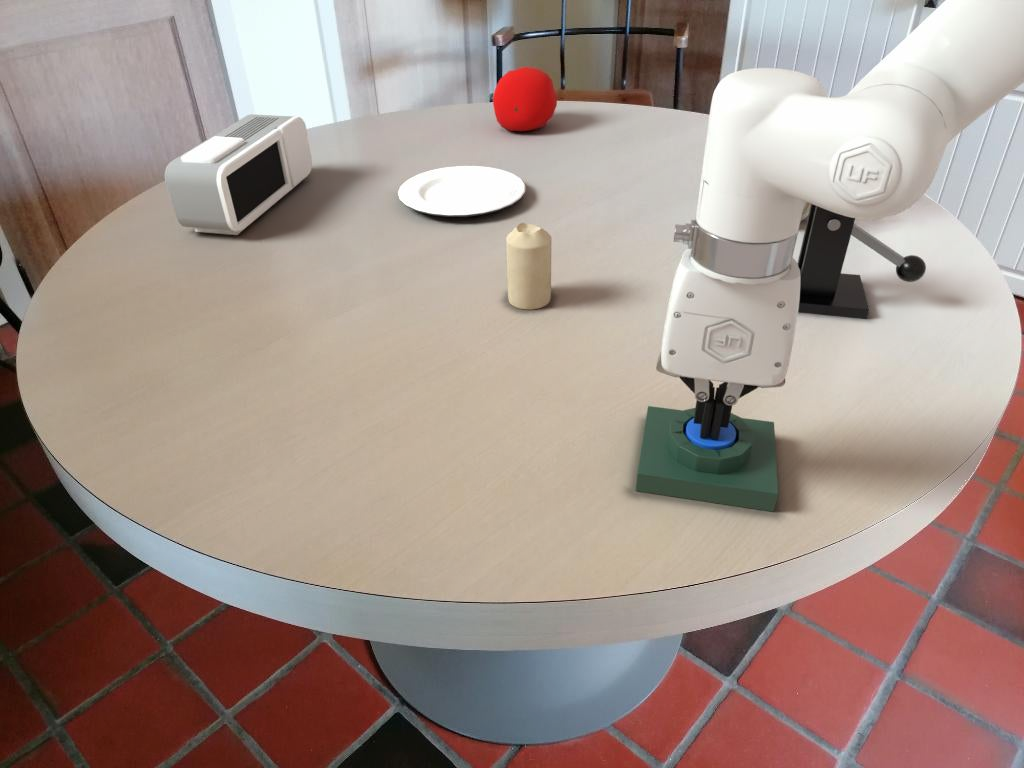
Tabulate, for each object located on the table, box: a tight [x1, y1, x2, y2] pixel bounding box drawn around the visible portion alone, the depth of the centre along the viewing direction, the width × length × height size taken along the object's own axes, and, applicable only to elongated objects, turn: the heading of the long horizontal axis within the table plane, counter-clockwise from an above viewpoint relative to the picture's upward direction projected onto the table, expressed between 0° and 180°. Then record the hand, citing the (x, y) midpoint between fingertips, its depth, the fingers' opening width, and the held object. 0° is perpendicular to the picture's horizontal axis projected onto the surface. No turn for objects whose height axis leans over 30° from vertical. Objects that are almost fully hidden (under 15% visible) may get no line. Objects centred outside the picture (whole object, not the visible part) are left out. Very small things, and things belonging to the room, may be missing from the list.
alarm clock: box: [164, 113, 313, 236], centre depth 120 cm, size 27×9×12 cm, turn 167°
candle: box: [505, 222, 553, 310], centre depth 93 cm, size 6×6×10 cm
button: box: [685, 418, 736, 450], centre depth 69 cm, size 4×4×2 cm
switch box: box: [635, 405, 779, 512], centre depth 69 cm, size 12×10×4 cm
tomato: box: [492, 66, 558, 132], centre depth 150 cm, size 13×13×13 cm
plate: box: [397, 165, 526, 218], centre depth 123 cm, size 21×21×2 cm
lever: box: [851, 223, 927, 283], centre depth 90 cm, size 15×3×3 cm, turn 76°
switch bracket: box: [797, 204, 870, 320], centre depth 92 cm, size 12×9×13 cm
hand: (709, 429), depth 68 cm, fingers closed
